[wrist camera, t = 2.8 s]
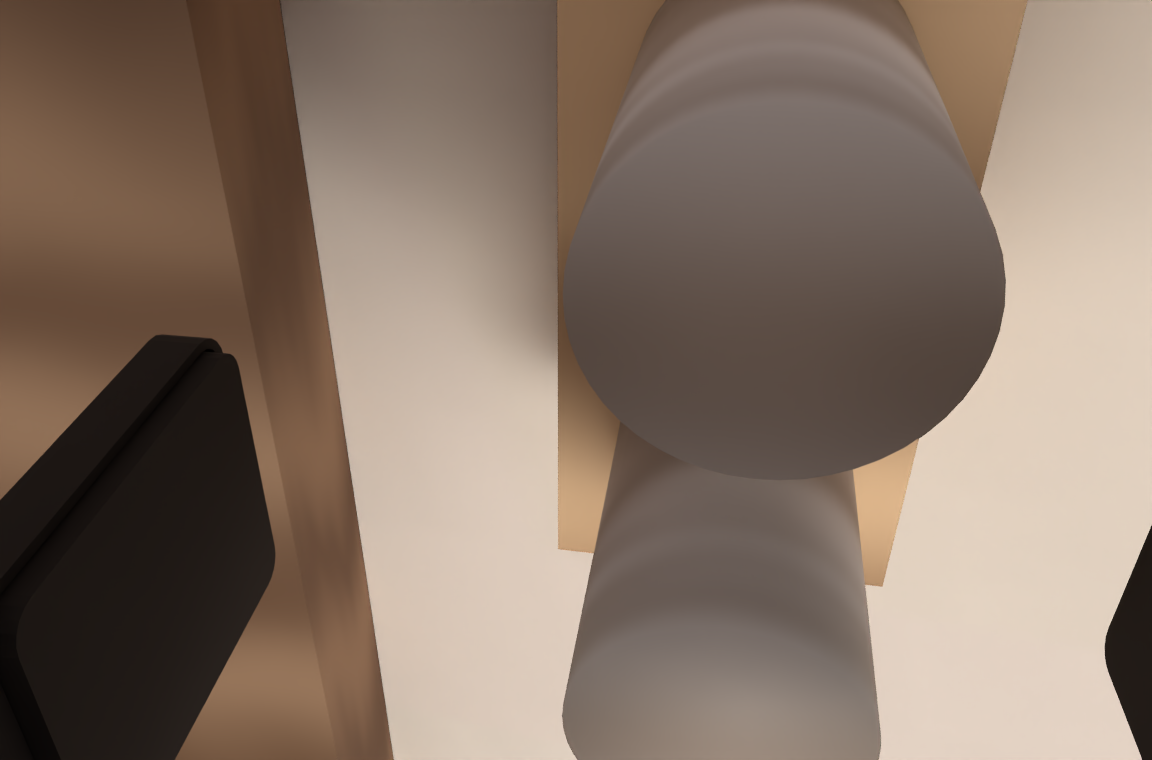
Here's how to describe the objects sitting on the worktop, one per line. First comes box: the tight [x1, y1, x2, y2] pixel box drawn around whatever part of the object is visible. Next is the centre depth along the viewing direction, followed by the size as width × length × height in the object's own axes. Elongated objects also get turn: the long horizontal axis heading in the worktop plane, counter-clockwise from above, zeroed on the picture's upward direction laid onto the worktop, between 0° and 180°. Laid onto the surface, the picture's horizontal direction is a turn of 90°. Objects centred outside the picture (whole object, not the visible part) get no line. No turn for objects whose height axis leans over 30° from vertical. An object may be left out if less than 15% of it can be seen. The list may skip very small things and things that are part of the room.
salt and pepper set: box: [557, 0, 1027, 760], centre depth 13 cm, size 10×5×10 cm, turn 0°
